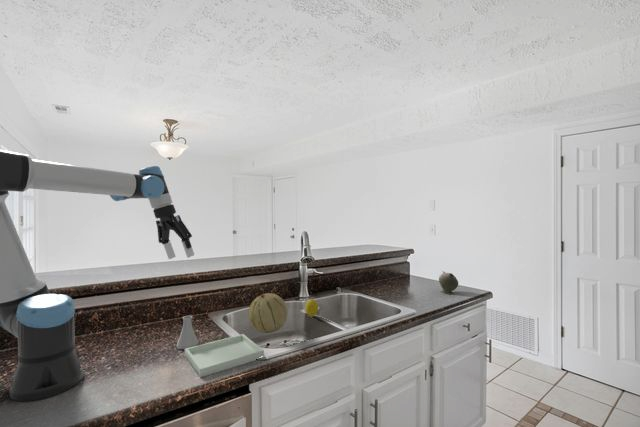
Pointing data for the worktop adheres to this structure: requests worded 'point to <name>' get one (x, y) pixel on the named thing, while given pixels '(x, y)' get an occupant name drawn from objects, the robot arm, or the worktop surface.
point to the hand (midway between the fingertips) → (181, 257)
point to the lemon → (311, 307)
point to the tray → (222, 354)
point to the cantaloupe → (268, 313)
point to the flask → (187, 335)
